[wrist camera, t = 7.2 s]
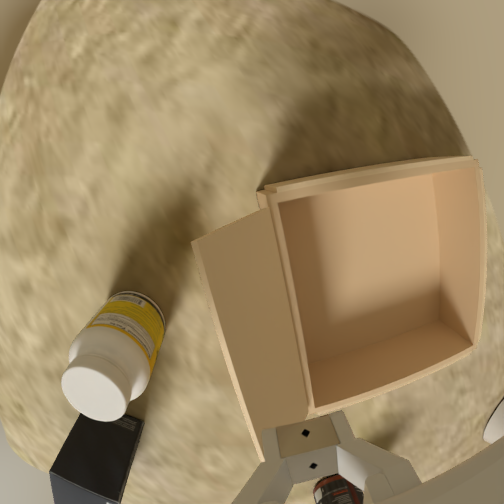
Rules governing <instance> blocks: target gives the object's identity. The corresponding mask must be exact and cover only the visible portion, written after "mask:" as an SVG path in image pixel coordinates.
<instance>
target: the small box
mask: <svg viewBox="0 0 504 504" xmlns="http://www.w3.org/2000/svg"><path fill="white" fill-rule="evenodd" d="M143 426H144V422H143V421H141V420H139V419H136V418H133V417H130V416H128V415H125V414H124V415H123V416H122V417H120V418H119V419H117V420H114V421H107V422H105V421H98V420H94V419H92V418H89V417H87V416H85V415H84V414H82V413H80V415H79V417H78V419H77V421H76V422H75V424H74V426H73V428H72V430H71V431H70V433H69V435H68V437H67V439H66V441H65V443H64V444H63V446H62V448H61V450H60V452H59V454H58V455H57V458H56V460H55V461H54V463H53V465H52V467H51V469H50V471H49V474H50V481H51V486H52V492H53V498H54V503H55V504H120V503H121V500H122V497H123V493H124V489H125V486H126V483H127V479H128V476H129V472H130V469H131V465H132V462H133V459H134V456H135V453H136V450H137V447H138V443H139V439H140V436H141V433H142V429H143Z"/></svg>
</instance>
